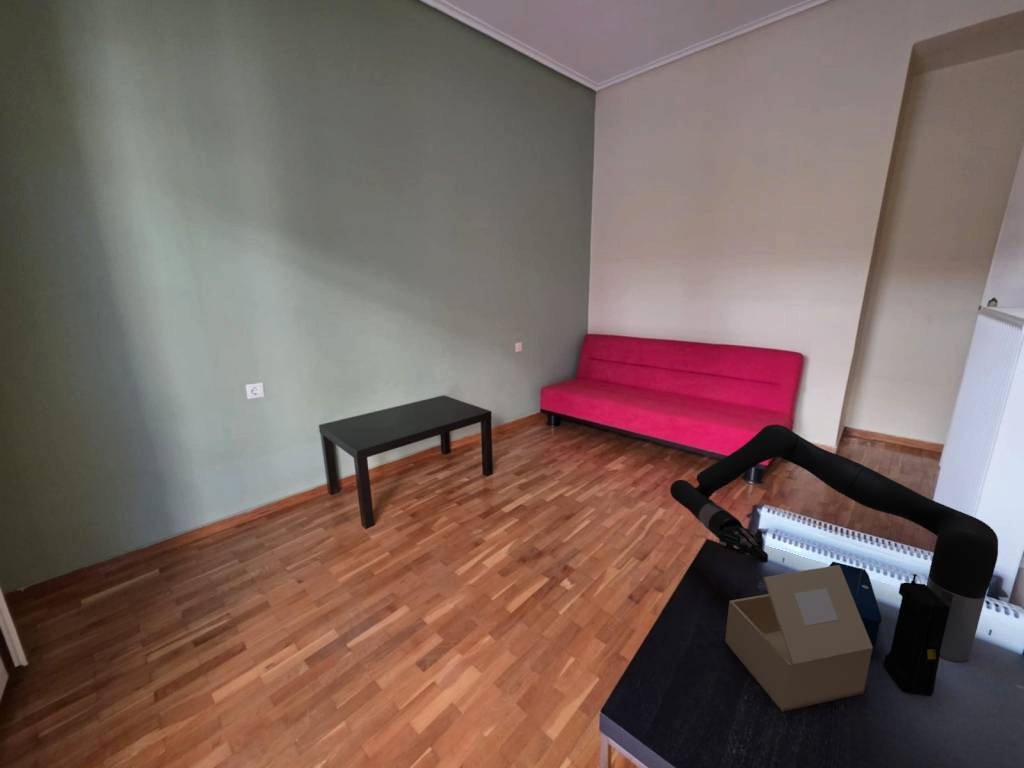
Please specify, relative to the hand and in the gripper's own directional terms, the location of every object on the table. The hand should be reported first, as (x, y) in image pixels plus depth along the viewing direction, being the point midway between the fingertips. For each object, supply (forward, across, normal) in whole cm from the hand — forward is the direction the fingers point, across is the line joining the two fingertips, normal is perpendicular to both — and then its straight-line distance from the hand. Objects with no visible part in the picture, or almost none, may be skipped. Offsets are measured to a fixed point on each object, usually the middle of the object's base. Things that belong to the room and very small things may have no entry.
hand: (765, 559), depth 102 cm
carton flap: (+15, 0, +2) cm, 15 cm away
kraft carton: (+10, 0, +21) cm, 23 cm away
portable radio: (+19, +22, +21) cm, 36 cm away
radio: (+3, +24, +21) cm, 32 cm away
